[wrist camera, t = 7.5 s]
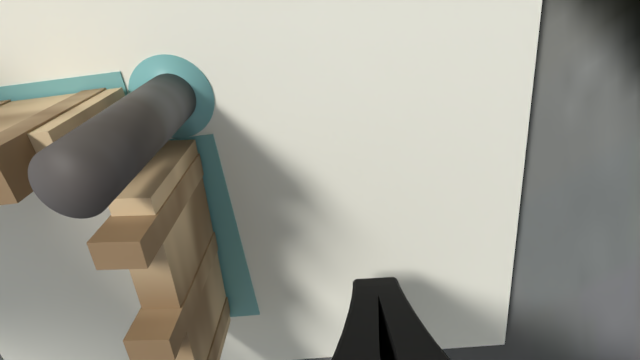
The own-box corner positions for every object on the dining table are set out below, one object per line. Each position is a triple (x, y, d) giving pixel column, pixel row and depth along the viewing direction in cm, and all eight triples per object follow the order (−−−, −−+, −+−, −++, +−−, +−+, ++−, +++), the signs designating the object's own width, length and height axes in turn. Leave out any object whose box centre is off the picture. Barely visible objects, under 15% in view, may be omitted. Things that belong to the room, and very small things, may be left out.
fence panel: (159, 140, 12) (79, 223, 8) (196, 139, 12) (134, 222, 8) (202, 320, 15) (160, 441, 12) (232, 320, 15) (199, 441, 11)
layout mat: (23, 371, 18) (17, 380, 17) (-326, -150, 10) (-354, -155, 9) (500, 336, 16) (504, 345, 16) (567, -314, 8) (579, -329, 8)
